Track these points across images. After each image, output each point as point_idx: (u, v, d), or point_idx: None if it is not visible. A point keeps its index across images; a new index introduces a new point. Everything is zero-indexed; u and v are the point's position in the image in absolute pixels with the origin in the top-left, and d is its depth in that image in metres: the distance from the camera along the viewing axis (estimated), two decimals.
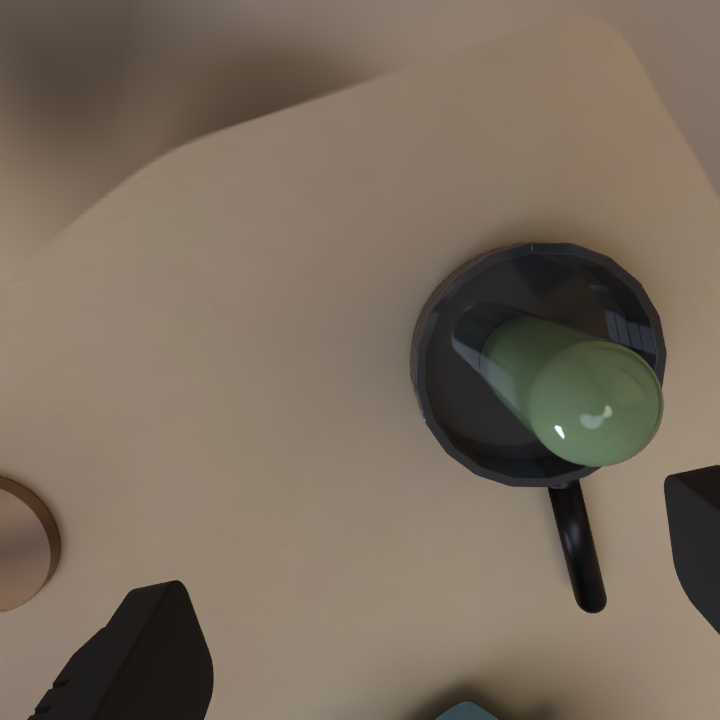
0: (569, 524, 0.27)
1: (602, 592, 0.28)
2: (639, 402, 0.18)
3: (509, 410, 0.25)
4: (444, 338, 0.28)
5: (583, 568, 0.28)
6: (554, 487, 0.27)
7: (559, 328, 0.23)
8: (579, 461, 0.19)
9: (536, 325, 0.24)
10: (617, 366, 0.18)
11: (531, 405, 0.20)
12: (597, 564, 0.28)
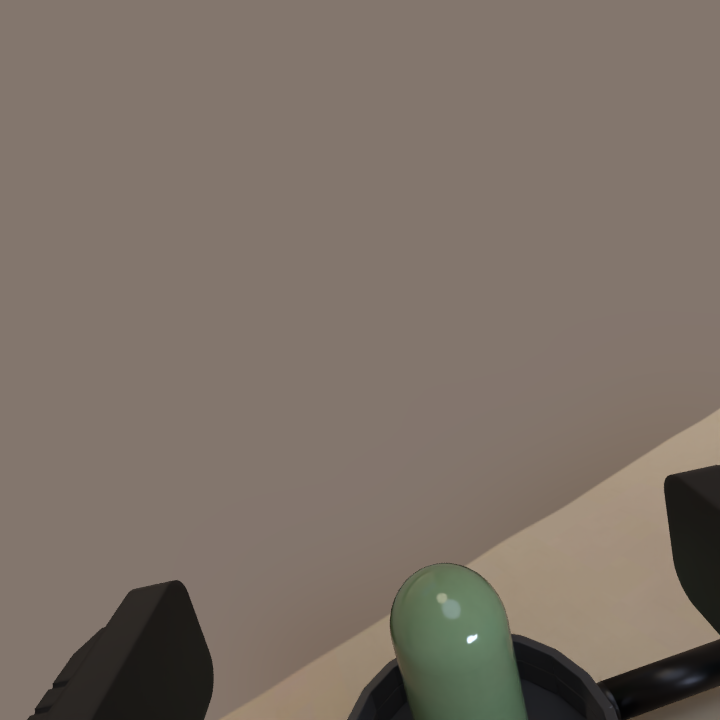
0: (654, 680, 0.24)
1: None
2: (422, 571, 0.22)
3: None
4: None
5: (704, 657, 0.24)
6: (615, 703, 0.23)
7: None
8: (491, 608, 0.21)
9: None
10: (398, 595, 0.22)
11: (449, 664, 0.20)
12: (694, 648, 0.25)
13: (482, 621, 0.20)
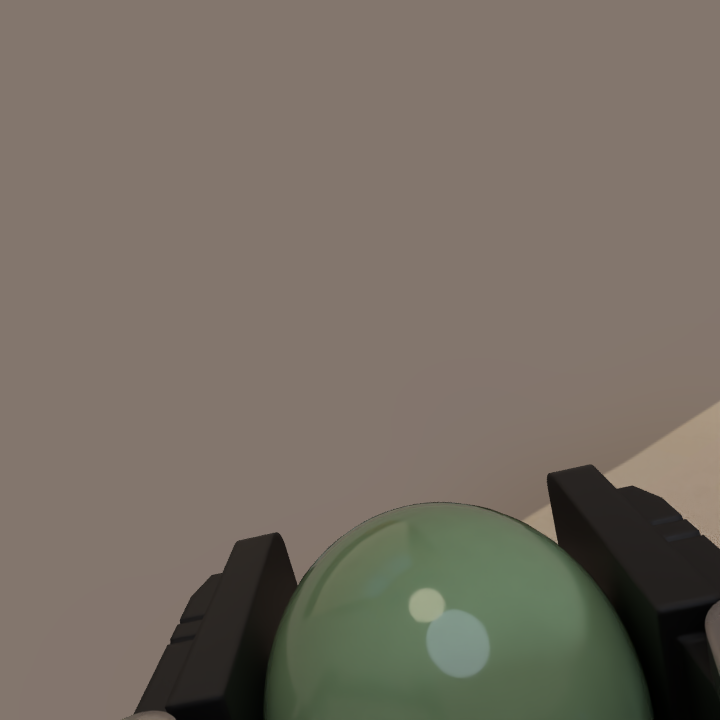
0: None
1: None
2: (369, 522, 0.07)
3: None
4: None
5: None
6: None
7: None
8: (602, 641, 0.06)
9: None
10: (292, 596, 0.07)
11: None
12: None
13: (579, 696, 0.05)
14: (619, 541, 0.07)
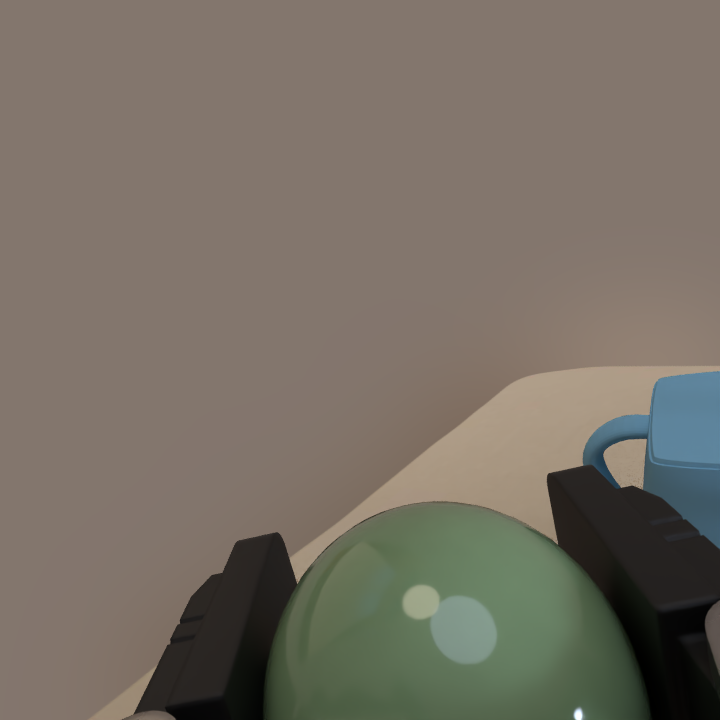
0: None
1: None
2: (368, 521, 0.07)
3: None
4: None
5: None
6: None
7: None
8: (600, 639, 0.06)
9: None
10: (291, 595, 0.07)
11: None
12: None
13: (577, 694, 0.05)
14: (619, 541, 0.07)
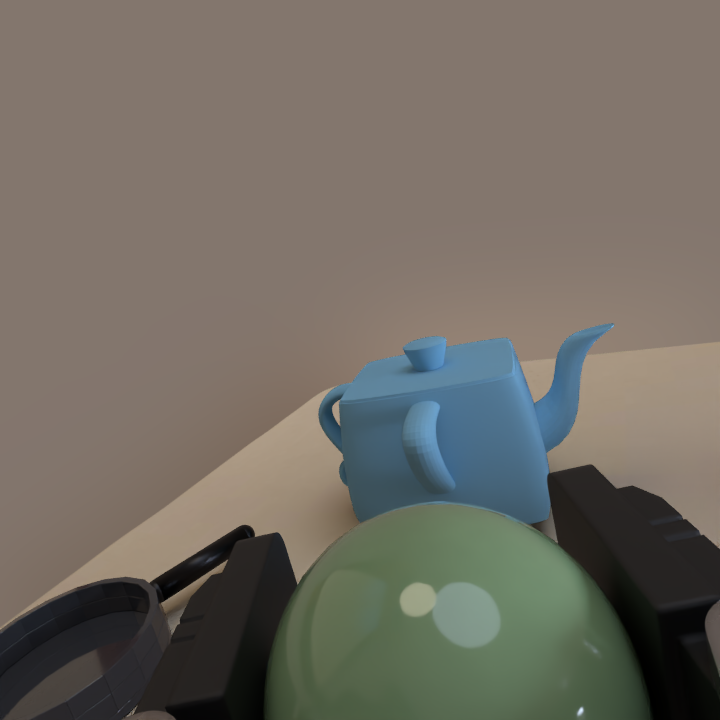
0: (184, 566, 0.37)
1: (231, 531, 0.41)
2: (369, 521, 0.07)
3: None
4: None
5: (215, 544, 0.39)
6: (158, 588, 0.36)
7: None
8: (601, 639, 0.06)
9: None
10: None
11: None
12: None
13: (578, 694, 0.05)
14: (619, 541, 0.07)
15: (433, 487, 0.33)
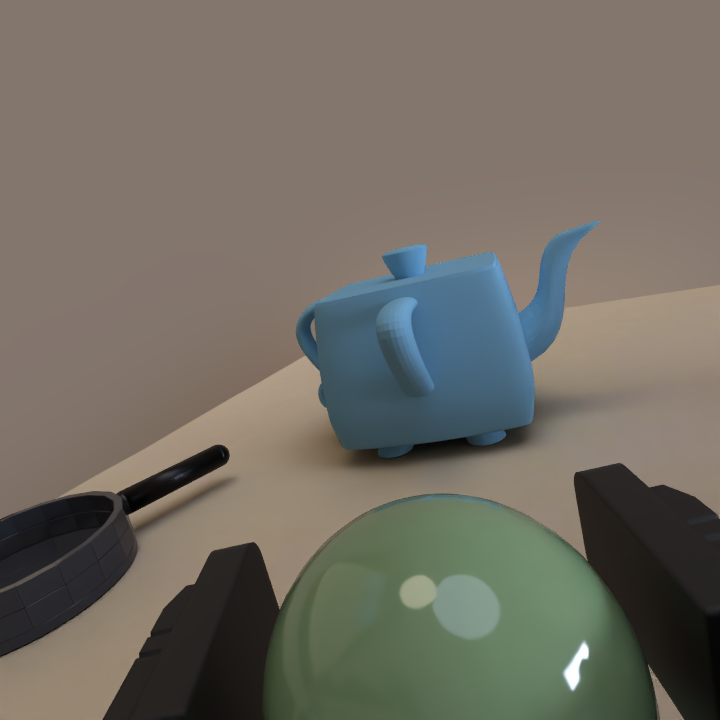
0: (153, 479, 0.36)
1: None
2: (368, 514, 0.07)
3: None
4: None
5: (187, 461, 0.37)
6: (124, 498, 0.34)
7: None
8: (604, 632, 0.06)
9: None
10: (290, 588, 0.07)
11: None
12: None
13: (581, 687, 0.05)
14: (658, 541, 0.07)
15: (410, 385, 0.32)
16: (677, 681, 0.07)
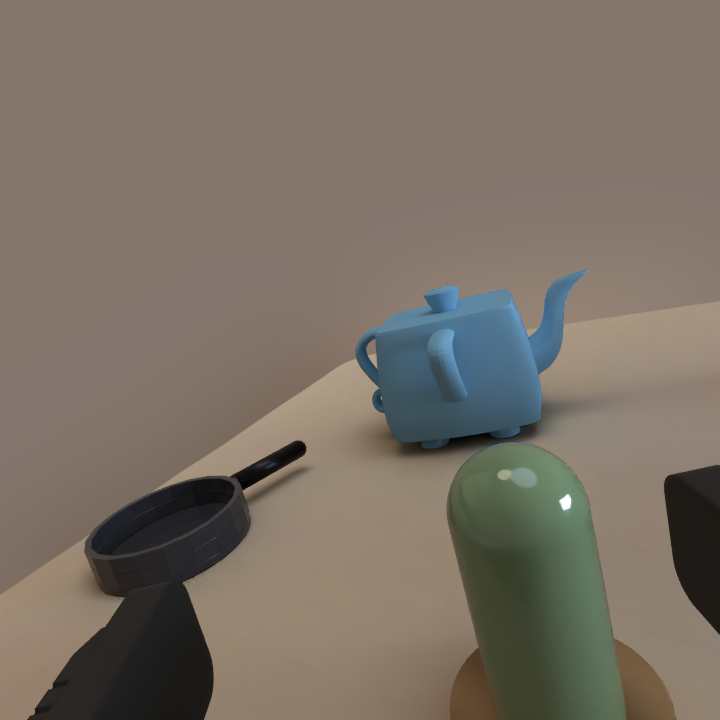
0: (255, 466, 0.47)
1: (288, 445, 0.51)
2: (484, 449, 0.19)
3: (597, 646, 0.17)
4: None
5: (277, 452, 0.49)
6: (237, 479, 0.46)
7: (467, 600, 0.20)
8: (571, 480, 0.17)
9: (478, 645, 0.19)
10: (456, 477, 0.19)
11: (526, 541, 0.16)
12: None
13: (563, 493, 0.17)
14: None
15: (450, 393, 0.43)
16: None
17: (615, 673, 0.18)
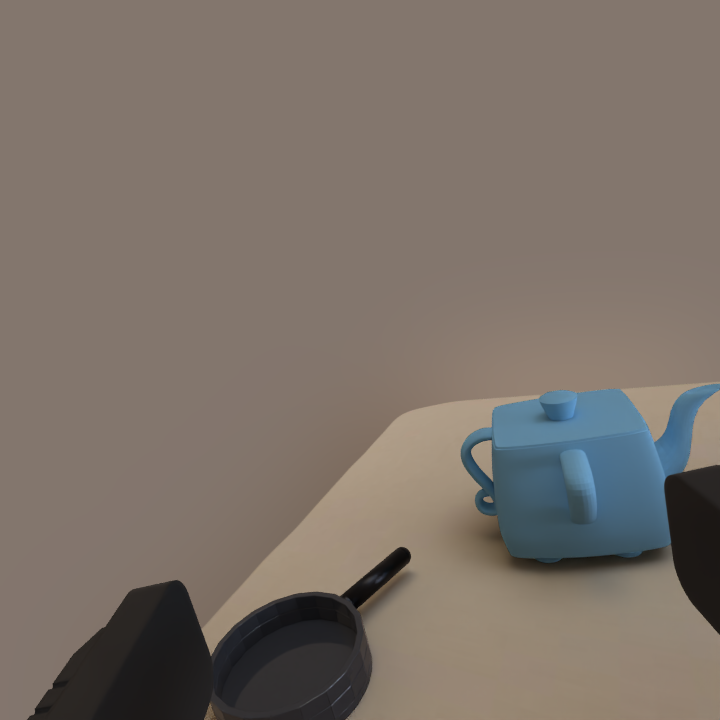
0: (365, 582, 0.45)
1: (392, 552, 0.49)
2: None
3: None
4: None
5: (384, 564, 0.47)
6: (350, 601, 0.44)
7: None
8: None
9: None
10: None
11: None
12: (380, 563, 0.48)
13: None
14: None
15: (582, 520, 0.41)
16: None
17: None
